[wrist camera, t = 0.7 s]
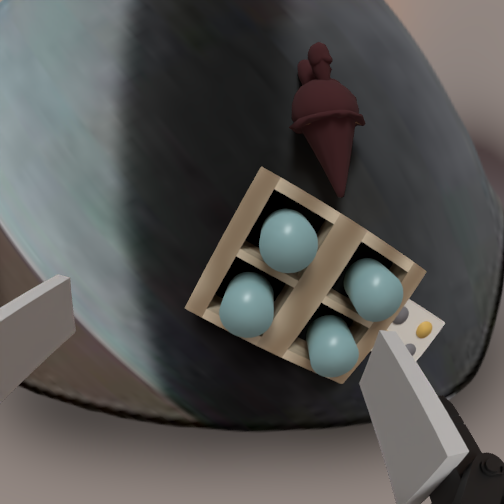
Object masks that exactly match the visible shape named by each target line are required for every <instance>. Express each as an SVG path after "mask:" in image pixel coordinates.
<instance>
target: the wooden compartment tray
mask: <svg viewBox="0 0 504 504" xmlns="http://www.w3.org/2000/svg"><path fill="white" fill-rule="evenodd" d="M274 189H275V190H277V191H279V192H280V193H282V194H284V195H286V196H287V197H289V198H291V199H292V200H294V201H296V202H298V203H299V204H301V205H303V206H304V207H306V208H308V209H309V210H311V211H313V212H315V213H316V214H318V215H320V216H321V217H323V218H324V219H326V220H325V221H324V223H323V225H322V226H321V228H320V230H319V231H318V233H317V234H316V235H317V239H318V249H317V253H316V256H315V258H314V259H313V261H312V262H311V263H310V264H309V265H308V266H307V267H306V268H304V269H303V270H301V271H298V272H295V273H282V272H278V271H276V270H274V269H272V268H271V267H270V266H268V265H267V264H266V263H265V261H264V260H263V258H262V256H261V253H260V249H259V248H258V247H256V246H254V245H253V244H251V243H249V242H247V241H245V239H246V238H247V236H248V234H249V232H250V231H251V229H252V227H253V225H254V223H255V222H256V220H257V218H258V216H259V215H260V213H261V211H262V209H263V208H264V206H265V204H266V202H267V201H268V199H269V197H270V195H271V194H272V192H273V190H274ZM361 242H363V243H365V244H366V245H368V246H369V247H371V248H372V249H374V250H375V251H377V252H378V253H380V254H381V255H383V256H385V257H386V258H388V259H389V260H391V261H392V262H393V264H392V266H391V267H390V269H389V271H390V272H391V273H392V274H393V275H394V276H396V277H397V278H398V279H399V281H400V282H401V284H402V287H403V299H402V303H401V305H400V307H399V308H398V310H397V311H396V312H395V313H394V314H393V315H392V316H391V317H389V318H387V319H385V320H383V321H379V322H371V321H367V320H365V319H363V318H362V317H361V316H360V315H359V314H358V312H357V311H356V309H355V307H354V305H353V304H352V302H351V300H350V299H349V298H347V297H346V296H344V295H342V294H340V293H339V292H337V291H335V290H333V289H331V288H332V286H333V285H334V283H335V282H336V280H337V279H338V277H339V276H340V274H341V273H342V271H343V269H344V268H345V266H346V265H347V263H348V262H349V260H350V259H351V257H352V255H353V254H354V252H355V251H356V249H357V247H358V246H359V244H360V243H361ZM236 256H237V257H239V258H240V259H242V260H244V261H246V262H248V263H249V264H251V265H253V266H255V267H257V268H259V269H260V270H262V271H264V272H266V273H268V274H270V275H271V276H273V277H275V278H277V279H279V280H281V281H282V282H284V283H286V284H285V286H284V287H283V289H282V291H281V292H280V294H279V295H278V297H277V298H276V300H275V301H274V316H273V321H272V324H271V326H270V327H269V328H268V330H267V331H266V332H264V333H263V334H261V335H259V336H256V337H252V338H243V337H240V338H242V339H244V340H246V341H248V342H250V343H252V344H254V345H256V346H258V347H260V348H262V349H265V350H267V351H269V352H271V353H273V354H275V355H277V356H279V357H281V358H284V359H286V360H288V361H290V362H292V363H294V364H297V365H299V366H301V367H303V368H306V369H308V370H310V371H312V372H315V371H314V370H313V368H312V366H311V363H310V357H309V351H308V346H307V341H305V340H302V339H300V338H298V337H297V336H298V335H299V334H300V332H301V331H302V329H303V328H304V327H305V325H306V324H307V322H308V321H309V320H310V318H311V317H312V315H313V314H314V313H315V311H316V310H317V308H318V307H319V305H320V304H321V303H323V304H325V305H327V306H329V307H330V308H332V309H334V310H336V311H338V312H340V313H342V314H343V315H345V316H347V317H349V318H351V319H353V320H354V321H353V323H352V324H351V325H350V327H349V330H350V332H351V334H352V336H353V338H354V341H355V343H356V345H357V348H358V351H359V357H358V360H357V363H356V364H355V366H354V367H353V368H352V369H351V370H350V371H349V372H347V373H345V374H343V375H341V376H338V377H326V378H329V379H331V380H333V381H336V382H338V383H341V384H343V383H344V381H345V380H346V379H347V378H348V377H349V376H350V375H351V373H352V372H353V371H354V370H355V369H356V368H357V366H358V365H359V364H360V363H361V362H362V360H363V359H364V358H365V357H366V356H367V354H368V353H369V352H370V351H371V349H372V348H373V347H374V344H375V341H376V338H377V335H378V333H379V330H385V331H386V330H387V329H388V327H389V326H390V325H391V323H392V322H393V320H394V319H395V318H396V316H397V315H398V314H399V312H400V311H401V309H402V308H403V306H404V305H405V304H406V302H407V301H408V299H409V298H410V296H411V295H412V293H413V292H414V290H415V289H416V287H417V286H418V284H419V283H420V281H421V280H422V278H423V276H424V275H425V273H426V272H427V271H425V270H424V269H423V268H421V267H420V266H418V265H417V264H416V263H414V262H413V261H411V260H410V259H409V258H407V257H406V256H404V255H403V254H401V253H400V252H399V251H397V250H396V249H394V248H393V247H391V246H390V245H388V244H387V243H385V242H384V241H382V240H381V239H379V238H378V237H376V236H375V235H373V234H372V233H370V232H369V231H367V230H366V229H364V228H363V227H361V226H360V225H358V224H357V223H355V222H354V221H352V220H350V219H349V218H347V217H346V216H344V215H343V214H341V213H339V212H338V211H336V210H335V209H333V208H331V207H330V206H328V205H326V204H325V203H323V202H322V201H320V200H318V199H317V198H315V197H313V196H312V195H310V194H308V193H307V192H305V191H303V190H301V189H300V188H298V187H296V186H295V185H293V184H291V183H289V182H288V181H286V180H284V179H282V178H281V177H279V176H277V175H275V174H274V173H272V172H270V171H268V170H266V169H265V168H263V167H261V168H260V170H259V171H258V173H257V175H256V177H255V178H254V180H253V182H252V184H251V186H250V187H249V189H248V191H247V193H246V195H245V196H244V198H243V200H242V202H241V204H240V205H239V207H238V209H237V211H236V213H235V214H234V216H233V218H232V220H231V222H230V224H229V225H228V227H227V229H226V231H225V233H224V235H223V236H222V238H221V240H220V242H219V244H218V246H217V248H216V249H215V251H214V253H213V255H212V257H211V259H210V261H209V263H208V264H207V266H206V268H205V270H204V272H203V274H202V276H201V278H200V280H199V282H198V284H197V285H196V287H195V289H194V291H193V293H192V295H191V297H190V299H189V301H188V303H187V305H186V307H185V309H187V310H189V311H191V312H193V313H194V314H196V315H198V316H200V317H202V318H204V319H206V320H207V321H209V322H211V323H213V324H215V325H217V326H219V327H221V328H223V329H224V330H226V331H228V330H227V329H226V328H225V327H224V326H223V324H222V322H221V320H220V316H219V310H220V305H221V303H222V300H223V298H221V297H219V296H217V295H215V293H216V291H217V289H218V287H219V286H220V284H221V282H222V280H223V278H224V277H225V275H226V273H227V271H228V270H229V268H230V266H231V264H232V262H233V261H234V259H235V257H236ZM228 332H229V331H228ZM238 337H239V336H238ZM315 373H316V372H315Z"/></svg>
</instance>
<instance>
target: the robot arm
mask: <svg viewBox="0 0 504 504" xmlns="http://www.w3.org/2000/svg"><path fill="white" fill-rule="evenodd" d="M75 332H76V329H75V322H74V314H73V305H72V295H71V284H70V277H66V276H62V275H58V274H57V275H56V276H54V277H52V278H50V279H48V280H47V281H45V282H43V283H41V284H40V285H38V286H36V287H34V288H33V289H31V290H29V291H28V292H26V293H24V294H22V295H21V296H19V297H17V298H16V299H14V300H12V301H11V302H9V303H7V304H6V305H4V306H2V307H1V308H0V403H1V402H2V401H3V400H4V399H5V398H6V397H7V396H8V395H9V394H10V393H11V392H12V391H13V390H14V389H15V388H16V387H17V386H18V385H19V384H20V383H21V382H22V381H23V380H24V379H25V378H26V377H28V376H29V375H30V374H31V373H32V372H33V371H34V370H35V369H36V368H37V367H38V366H39V365H40V364H41V363H42V362H43V361H44V360H45V359H46V358H48V357H49V356H50V355H51V354H52V353H53V352H54V351H55V350H56V349H57V348H58V347H59V346H61V345H62V344H63V343H64V342H65V341H66V340H67V339H68V338H69V337H70V336H72V335H73V334H74V333H75ZM359 384H360V387H361V390H362V393H363V396H364V399H365V402H366V405H367V408H368V411H369V414H370V417H371V420H372V423H373V425H374V429H375V432H376V435H377V438H378V442H379V445H380V448H381V451H382V455H383V458H384V461H385V465H386V468H387V472H388V475H389V479H390V482H391V486H392V489H393V493H394V496H395V500H396V504H421V503H422V502H423V501H424V500H425V499H426V498H427V497H428V496H430V499H431V502H432V503H431V504H504V463H503V462H502V460H501V459H500V458H499V457H497V456H496V455H494V454H491V453H482V452H481V451H480V449H479V447H478V445H477V444H476V442H475V440H474V439H473V437H472V435H471V433H470V432H469V430H468V428H467V427H466V425H464V424H463V423H464V422H463V420H462V418H461V417H460V416H459V414H458V412H457V410H456V409H455V407H454V406H453V404H452V403H451V402H450V401H448V400H447V399H446V398H445V397H444V396H437V395H436V393H435V391H434V390H433V388H432V386H431V385H430V383H429V382H428V380H427V378H426V377H425V375H424V374H423V372H422V371H421V369H420V367H419V366H418V364H417V363H416V361H415V360H414V358H413V357H412V355H411V354H410V352H409V351H408V349H407V348H406V346H405V345H404V343H403V342H402V340H401V339H400V337H399V336H398V334H397V333H396V331H385V330H379V333H378V335H377V338H376V341H375V344H374V347H373V350H372V352H371V355H370V358H369V360H368V363H367V365H366V368H365V371H364V373H363V376H362V378H361V380H360V383H359Z"/></svg>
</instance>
